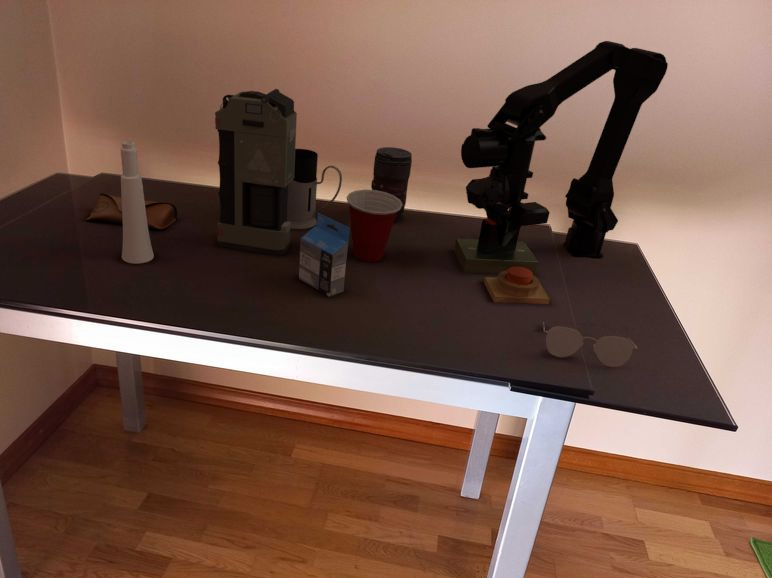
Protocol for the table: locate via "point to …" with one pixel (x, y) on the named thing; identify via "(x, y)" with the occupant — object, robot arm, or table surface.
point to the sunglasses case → (111, 212)
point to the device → (255, 170)
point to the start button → (519, 275)
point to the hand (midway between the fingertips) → (497, 242)
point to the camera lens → (392, 173)
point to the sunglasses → (606, 348)
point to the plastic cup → (371, 222)
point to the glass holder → (305, 190)
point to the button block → (515, 290)
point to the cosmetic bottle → (133, 209)
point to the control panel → (493, 258)
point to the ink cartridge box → (324, 256)
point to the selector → (494, 237)
